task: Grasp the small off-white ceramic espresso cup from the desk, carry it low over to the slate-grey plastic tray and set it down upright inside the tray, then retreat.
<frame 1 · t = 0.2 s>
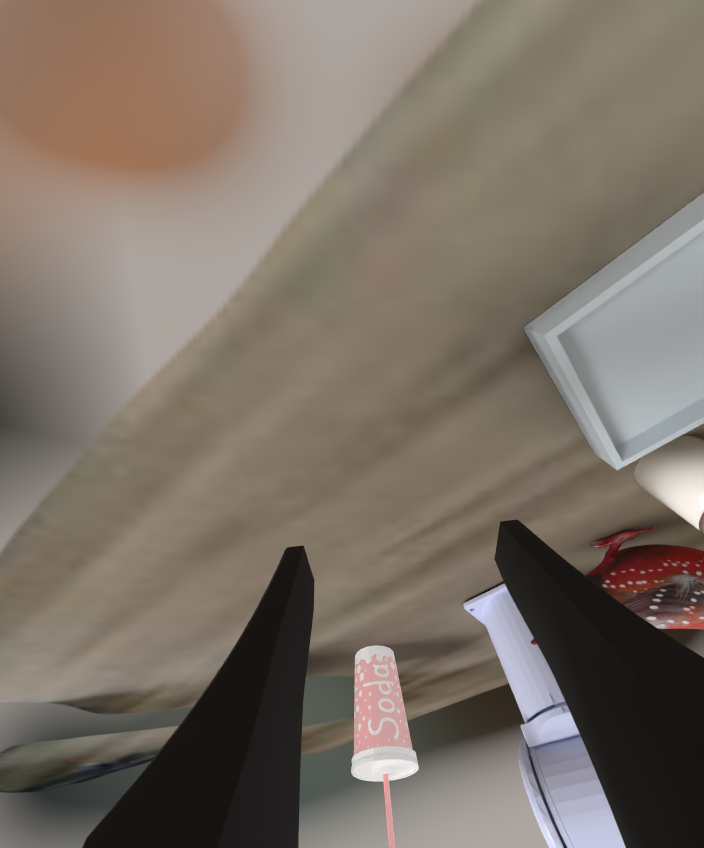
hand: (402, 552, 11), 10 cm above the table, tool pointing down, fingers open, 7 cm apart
decorative bird figurine: (589, 539, 27), on the table
beverage cup: (374, 653, 35), on the table
tray: (641, 347, 18), on the table
espresso cup: (668, 463, 23), on the table
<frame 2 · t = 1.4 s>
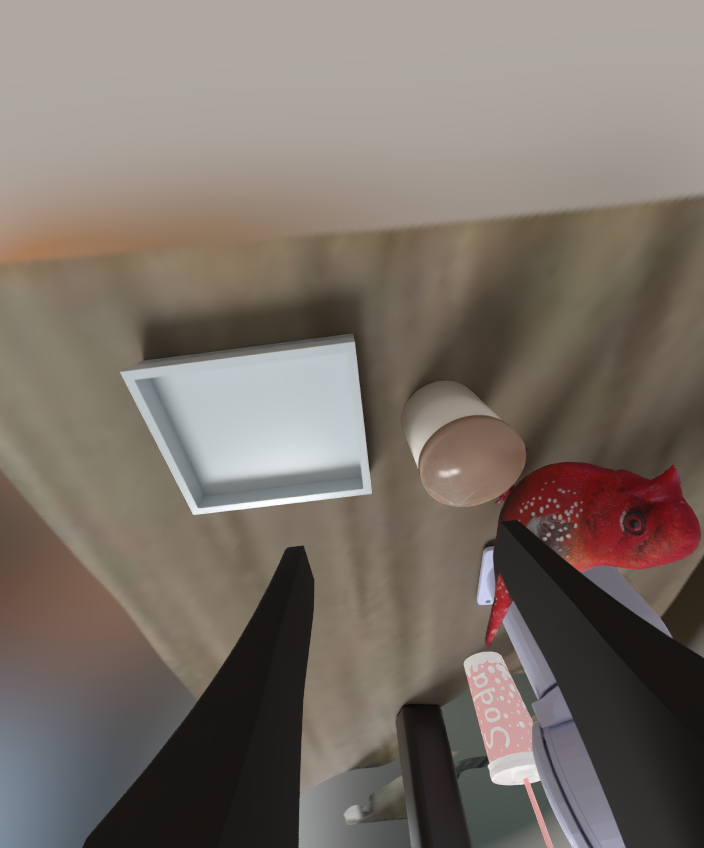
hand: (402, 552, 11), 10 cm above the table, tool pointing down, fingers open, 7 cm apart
decorative bird figurine: (494, 495, 23), on the table
beverage cup: (482, 659, 36), on the table
wine bottle: (417, 710, 42), on the table
tray: (269, 424, 19), on the table
espresso cup: (439, 416, 19), on the table
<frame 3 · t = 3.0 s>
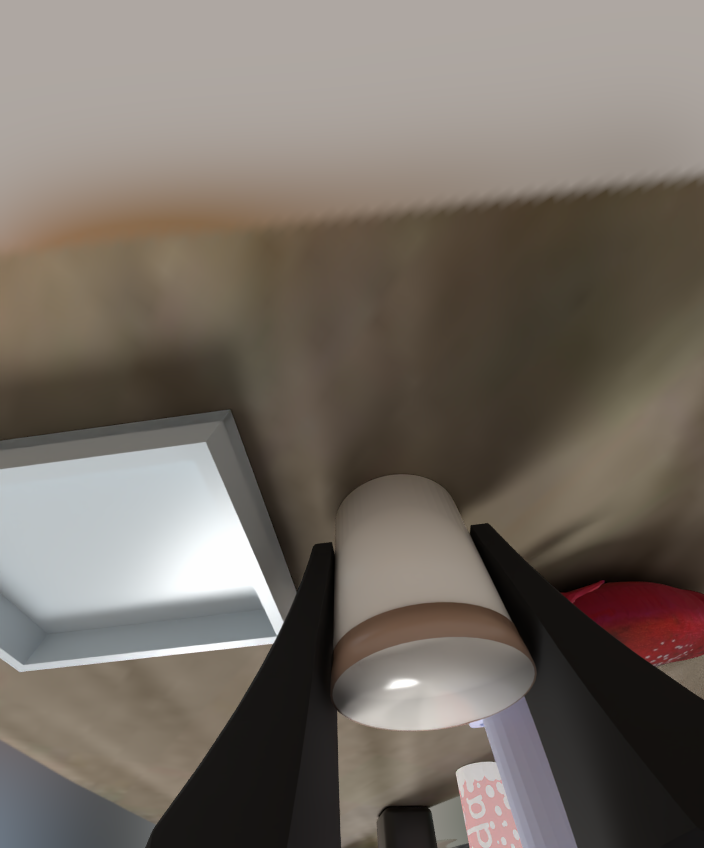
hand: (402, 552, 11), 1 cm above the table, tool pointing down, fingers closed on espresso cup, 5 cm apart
decorative bird figurine: (492, 626, 13), point 2 cm above the table, touching arm
beverage cup: (479, 766, 28), on the table
wine bottle: (402, 809, 35), on the table
tray: (126, 538, 12), on the table
espresso cup: (395, 522, 12), on the table, touching gripper
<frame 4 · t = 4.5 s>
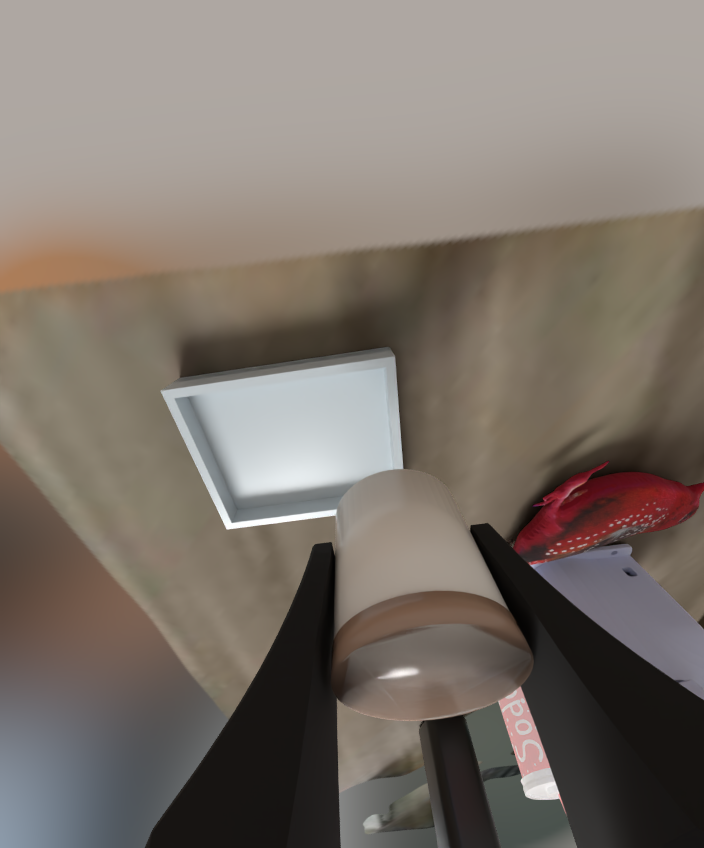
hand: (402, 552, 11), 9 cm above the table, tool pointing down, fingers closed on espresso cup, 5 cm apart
decorative bird figurine: (535, 499, 20), point 2 cm above the table, touching arm
beverage cup: (508, 669, 35), on the table
wine bottle: (440, 720, 41), on the table
tray: (302, 438, 19), on the table
espresso cup: (395, 517, 12), point 7 cm above the table, touching gripper
when the fingers open (3 cm above the table, at t = 6.4 s): espresso cup stays where it is, resting on tray.
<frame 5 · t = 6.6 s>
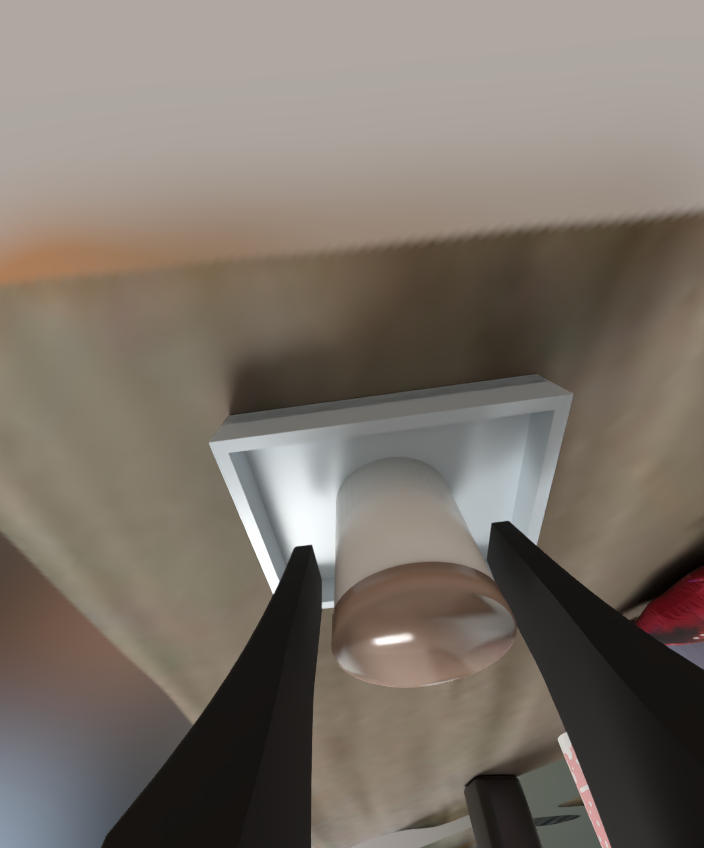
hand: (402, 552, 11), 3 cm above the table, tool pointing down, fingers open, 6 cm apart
decorative bird figurine: (696, 573, 15), point 2 cm above the table, touching arm
beverage cup: (579, 732, 30), on the table
wine bottle: (489, 779, 36), on the table
tray: (389, 493, 14), on the table
espresso cup: (392, 504, 13), point 1 cm above the table, touching tray
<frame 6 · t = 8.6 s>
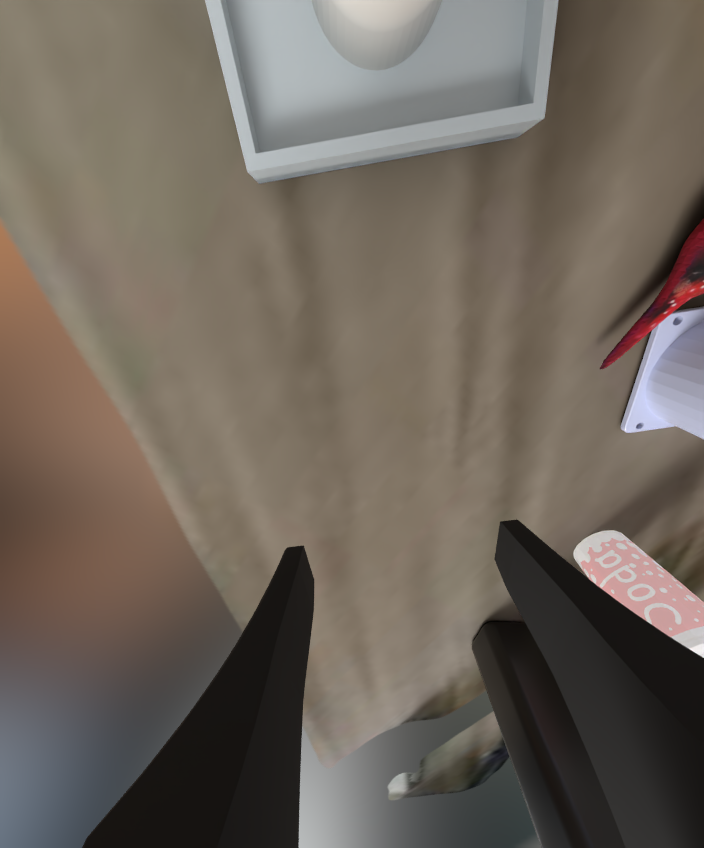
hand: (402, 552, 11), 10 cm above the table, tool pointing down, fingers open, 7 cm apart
beverage cup: (597, 546, 27), on the table
wine bottle: (498, 632, 34), on the table
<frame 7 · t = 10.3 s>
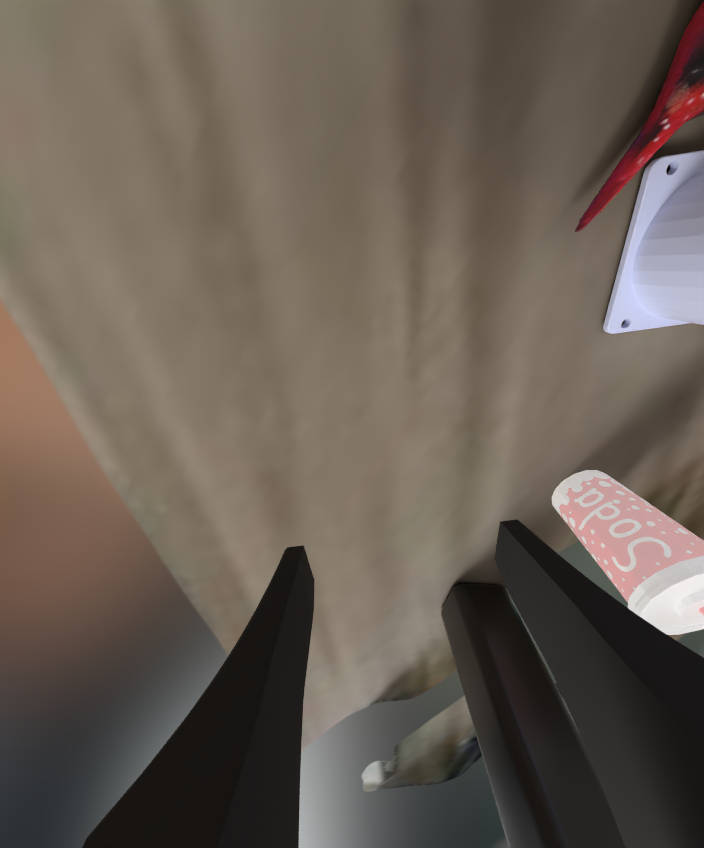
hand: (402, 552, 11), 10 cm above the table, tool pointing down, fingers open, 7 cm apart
beverage cup: (578, 491, 24), on the table
wine bottle: (470, 597, 31), on the table
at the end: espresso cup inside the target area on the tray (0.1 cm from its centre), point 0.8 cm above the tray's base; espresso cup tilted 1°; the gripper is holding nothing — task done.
